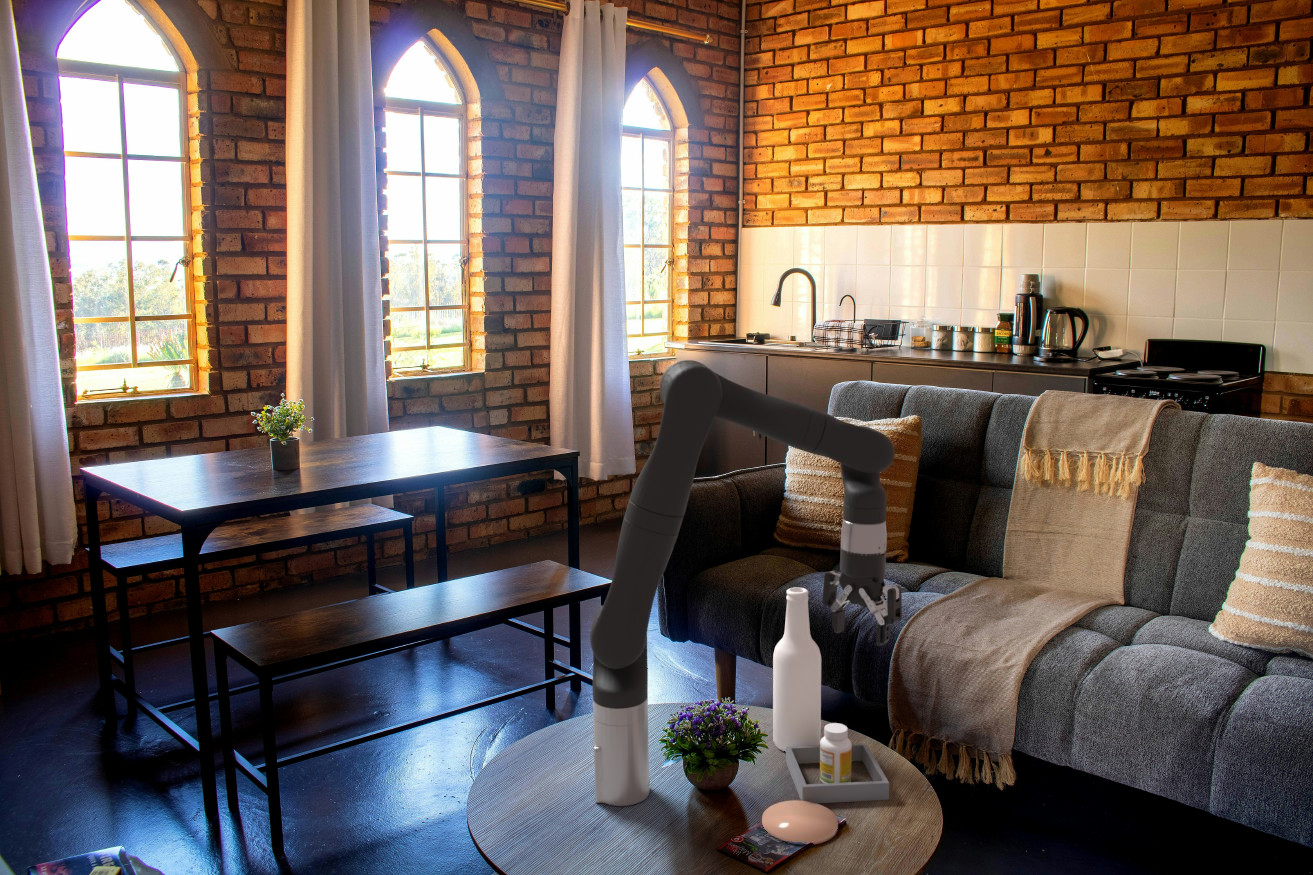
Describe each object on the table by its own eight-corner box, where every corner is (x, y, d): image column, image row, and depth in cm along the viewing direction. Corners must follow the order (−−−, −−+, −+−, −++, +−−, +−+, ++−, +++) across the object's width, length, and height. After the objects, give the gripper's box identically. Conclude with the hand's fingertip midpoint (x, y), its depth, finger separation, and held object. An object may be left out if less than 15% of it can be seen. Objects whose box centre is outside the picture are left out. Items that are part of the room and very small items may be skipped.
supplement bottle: (849, 773, 177) (850, 721, 176) (852, 788, 172) (853, 735, 171) (818, 772, 178) (819, 720, 176) (820, 787, 173) (821, 734, 171)
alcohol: (794, 759, 183) (795, 600, 178) (763, 741, 190) (763, 588, 185) (830, 746, 187) (832, 591, 183) (798, 729, 195) (799, 579, 190)
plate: (769, 846, 155) (769, 842, 155) (756, 806, 167) (756, 801, 167) (846, 843, 156) (846, 838, 156) (828, 803, 167) (828, 798, 167)
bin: (802, 803, 167) (802, 786, 167) (785, 762, 182) (785, 746, 181) (888, 799, 168) (889, 782, 168) (865, 758, 183) (865, 742, 182)
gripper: (815, 542, 172) (812, 633, 174) (888, 558, 162) (884, 654, 164) (840, 534, 177) (837, 622, 179) (912, 549, 167) (908, 643, 170)
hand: (860, 638), depth 172 cm, fingers open, 8 cm apart
